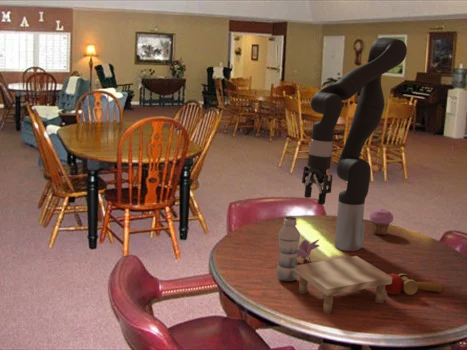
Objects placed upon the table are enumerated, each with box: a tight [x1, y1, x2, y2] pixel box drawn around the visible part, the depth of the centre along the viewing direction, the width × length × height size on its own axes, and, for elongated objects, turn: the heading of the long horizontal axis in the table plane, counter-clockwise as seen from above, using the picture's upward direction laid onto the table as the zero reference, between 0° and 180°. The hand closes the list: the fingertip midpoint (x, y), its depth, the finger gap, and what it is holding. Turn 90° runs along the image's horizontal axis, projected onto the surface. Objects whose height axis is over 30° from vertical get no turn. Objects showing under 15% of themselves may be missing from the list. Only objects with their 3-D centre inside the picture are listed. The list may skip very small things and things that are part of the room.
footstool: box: [295, 255, 392, 315], centre depth 165 cm, size 22×17×8 cm
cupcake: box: [369, 207, 394, 236], centre depth 220 cm, size 9×9×10 cm
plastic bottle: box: [276, 216, 301, 282], centre depth 174 cm, size 6×7×20 cm
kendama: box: [385, 273, 443, 296], centre depth 170 cm, size 8×6×18 cm
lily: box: [297, 239, 320, 263], centre depth 188 cm, size 12×12×10 cm
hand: (314, 200), depth 190 cm, fingers open, 8 cm apart
